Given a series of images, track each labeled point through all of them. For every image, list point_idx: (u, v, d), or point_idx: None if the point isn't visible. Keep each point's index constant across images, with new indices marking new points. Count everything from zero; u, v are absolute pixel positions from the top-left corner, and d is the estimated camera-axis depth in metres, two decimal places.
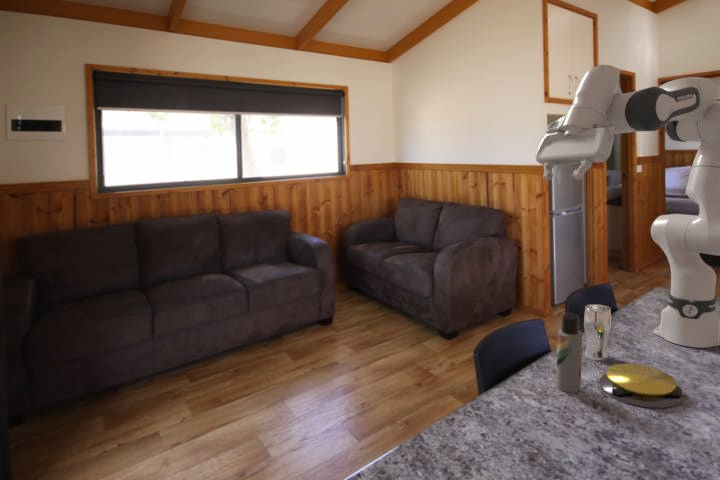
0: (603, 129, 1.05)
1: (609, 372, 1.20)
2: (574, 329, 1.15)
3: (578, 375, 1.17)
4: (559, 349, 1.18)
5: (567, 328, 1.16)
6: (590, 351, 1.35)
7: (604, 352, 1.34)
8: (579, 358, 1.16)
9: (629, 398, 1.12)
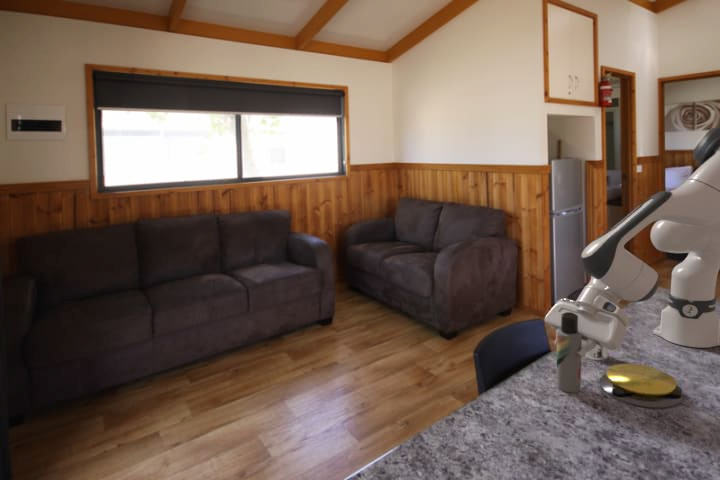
0: None
1: (609, 372, 1.20)
2: (573, 329, 1.15)
3: (578, 375, 1.17)
4: (559, 349, 1.18)
5: (566, 328, 1.16)
6: (590, 351, 1.35)
7: (604, 352, 1.34)
8: (579, 358, 1.16)
9: (629, 398, 1.12)
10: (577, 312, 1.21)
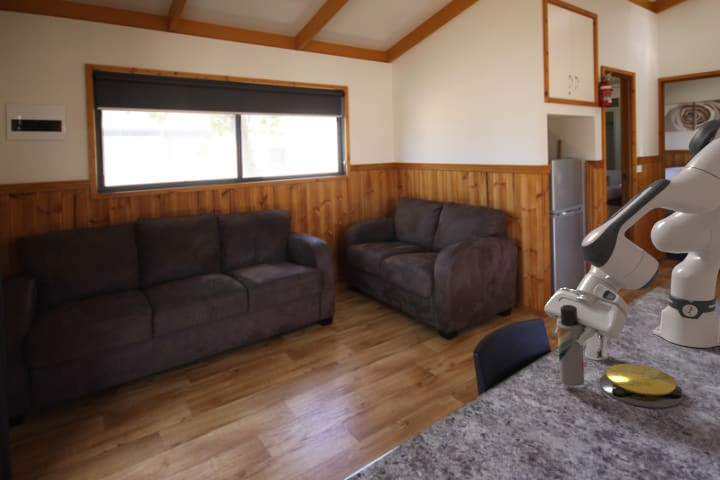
0: None
1: (609, 372, 1.20)
2: (573, 320, 1.16)
3: (581, 367, 1.17)
4: (560, 342, 1.18)
5: (566, 320, 1.16)
6: (590, 351, 1.35)
7: (604, 352, 1.34)
8: (581, 350, 1.16)
9: (629, 398, 1.12)
10: (577, 301, 1.21)
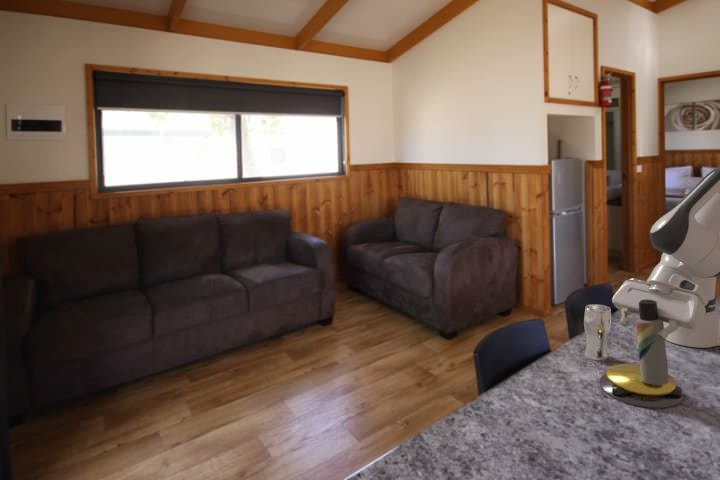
0: None
1: (609, 372, 1.20)
2: (655, 314, 1.11)
3: (666, 365, 1.11)
4: (641, 339, 1.12)
5: (647, 314, 1.12)
6: (590, 351, 1.35)
7: (604, 352, 1.34)
8: (664, 346, 1.11)
9: (629, 398, 1.12)
10: (649, 292, 1.17)
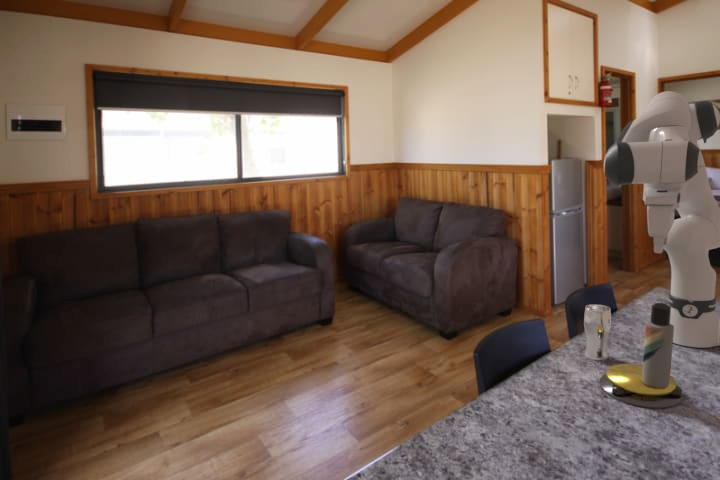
0: None
1: (609, 372, 1.20)
2: (667, 320, 1.09)
3: (669, 369, 1.10)
4: (649, 342, 1.11)
5: (659, 319, 1.09)
6: (590, 351, 1.35)
7: (604, 352, 1.34)
8: (671, 351, 1.09)
9: (629, 398, 1.12)
10: None
